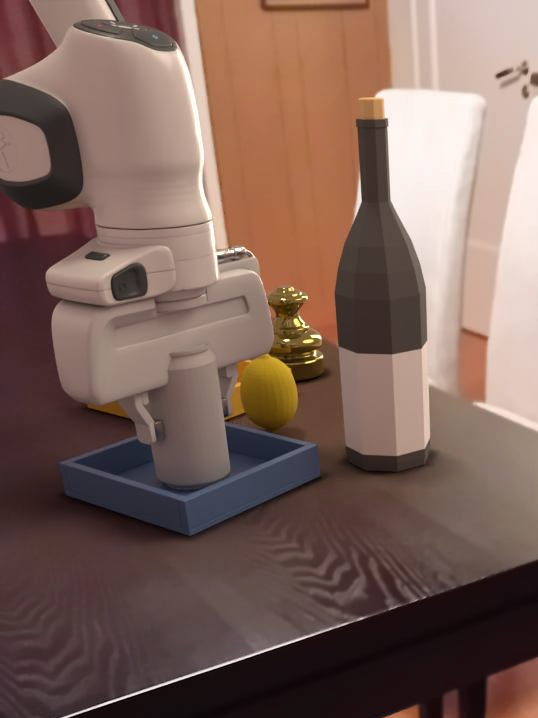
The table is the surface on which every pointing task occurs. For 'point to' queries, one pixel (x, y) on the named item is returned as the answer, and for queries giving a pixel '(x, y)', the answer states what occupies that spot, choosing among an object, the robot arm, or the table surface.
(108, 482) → the blue tray
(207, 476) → the beverage can
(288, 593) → the table surface
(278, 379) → the lemon
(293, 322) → the gold chess piece
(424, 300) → the wine bottle
